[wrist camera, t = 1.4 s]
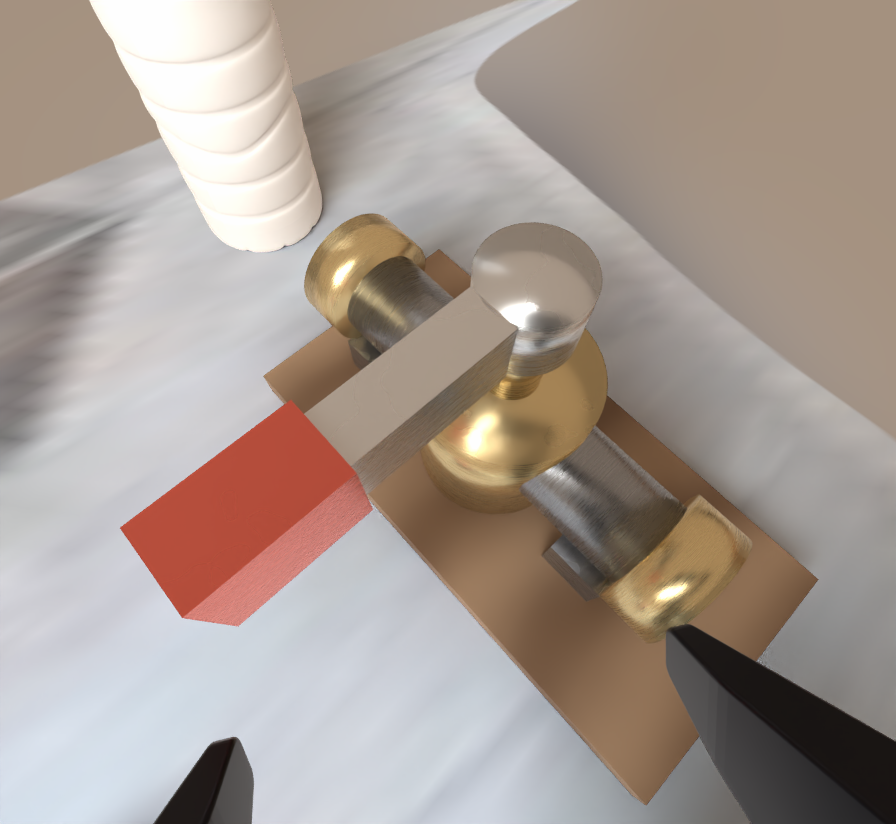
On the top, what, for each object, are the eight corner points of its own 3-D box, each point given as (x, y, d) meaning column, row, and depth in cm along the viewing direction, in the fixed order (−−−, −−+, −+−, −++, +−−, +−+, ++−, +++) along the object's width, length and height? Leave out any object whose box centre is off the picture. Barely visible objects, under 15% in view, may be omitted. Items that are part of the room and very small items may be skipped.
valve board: (796, 584, 23) (818, 579, 22) (632, 795, 20) (646, 805, 19) (439, 267, 30) (439, 249, 28) (272, 390, 27) (263, 375, 25)
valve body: (702, 544, 22) (856, 480, 14) (601, 661, 21) (709, 665, 12) (412, 279, 28) (401, 119, 19) (310, 353, 26) (250, 212, 18)
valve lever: (520, 269, 17) (536, 194, 14) (599, 335, 16) (633, 268, 13) (174, 539, 13) (106, 508, 11) (250, 643, 12) (197, 640, 10)
